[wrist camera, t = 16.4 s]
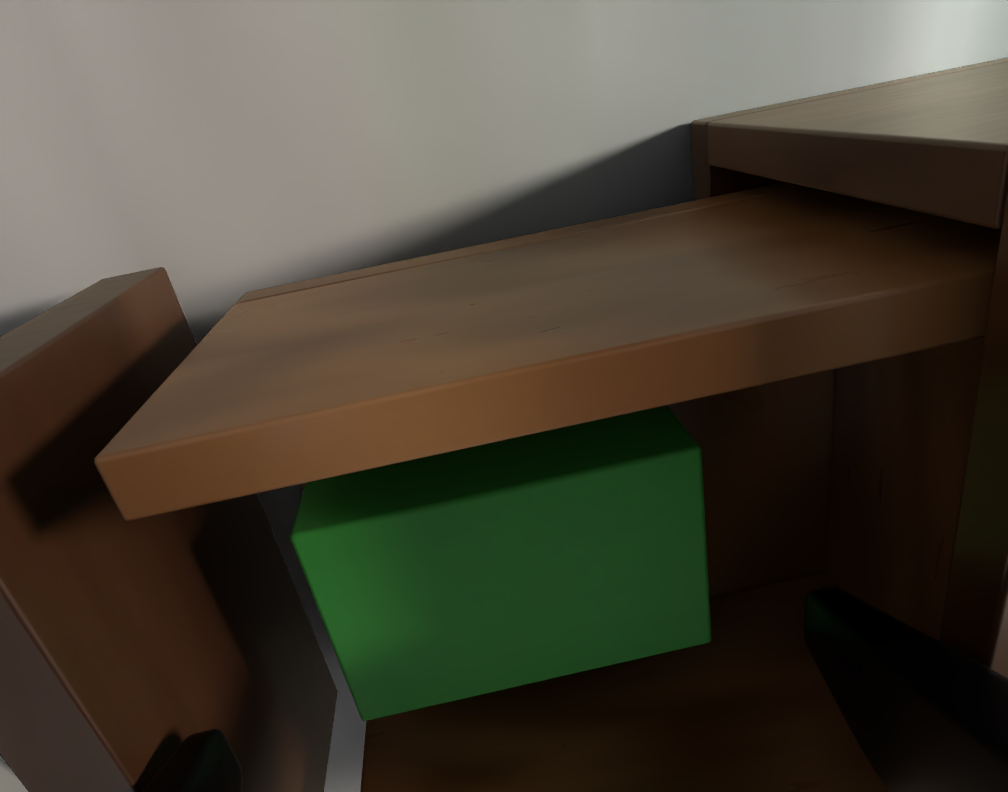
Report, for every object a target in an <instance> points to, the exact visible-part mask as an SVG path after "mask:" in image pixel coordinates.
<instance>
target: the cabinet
mask: <svg viewBox="0 0 1008 792" xmlns="http://www.w3.org/2000/svg"><path fill="white" fill-rule="evenodd" d="M691 130H692V151H693V171H694V192H695V200H700V199H705V198H710V197H715V196H720V195H725V194H729V193H734V192H739V191H744V190H749V189H754V188H759V187H764V186H769V185H773V184H778V183H783V182H788V183H792V184H797V185H801V186H806V187H810V188H814V189H819V190H823V191H828V192H832V193H837V194H841V195H846V196H850V197H855V198H859V199H864V200H868V201H873V202H877V203H882V204H886V205H891V206H895V207H900V208H904V209H909V210H913V211H918V212H922V213H927V214H931V215H936V216H940V217H945V218H949V219H954V220H958V221H963V222H967V223H972V224H976V225H981V226H985V227H990V228H994V229H1001V234H1000V241H999V247H998V254H997V261H996V267H995V274H994V280H993V287H992V294H991V300H990V307H989V313H988V320H987V327H986V333H985V340H984V346H983V353H982V360H981V366H980V373H979V380H978V386H977V393H976V399H975V406H974V413H973V419H972V426H971V432H970V439H969V446H968V452H967V459H966V465H965V472H964V479H963V485H962V492H961V499H960V505H959V512H958V518H957V525H956V532H955V538H954V545H953V551H952V558H951V565H950V571H949V578H948V584H947V591H946V598H945V604H944V611H943V618H942V624H941V631H940V637H939V641H940V642H941V643H943V644H945V645H947V646H949V647H951V648H953V649H955V650H957V651H958V652H960V653H962V654H964V655H966V656H968V657H970V658H972V659H973V660H975V661H977V662H979V663H981V664H983V665H985V666H987V667H988V668H990V669H992V670H994V671H996V672H998V673H1000V674H1002V675H1004V676H1005V677H1007V678H1008V58H1003V59H998V60H993V61H988V62H983V63H978V64H973V65H968V66H963V67H958V68H953V69H948V70H943V71H938V72H933V73H928V74H923V75H918V76H913V77H908V78H903V79H898V80H893V81H888V82H883V83H878V84H873V85H868V86H863V87H858V88H853V89H848V90H843V91H838V92H833V93H828V94H823V95H818V96H813V97H808V98H803V99H798V100H793V101H788V102H783V103H778V104H773V105H768V106H763V107H758V108H753V109H748V110H743V111H738V112H733V113H728V114H723V115H718V116H714V117H709V118H704V119H699V120H694V121H692V123H691Z"/></svg>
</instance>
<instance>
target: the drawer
mask: <svg viewBox="0 0 1008 792" xmlns="http://www.w3.org/2000/svg"><path fill="white" fill-rule="evenodd" d="M1000 234H1001V229H994V228H990V227H985V226H981V225H976V224H972V223H967V222H963V221H958V220H954V219H949V218H945V217H940V216H936V215H931V214H927V213H922V212H918V211H913V210H909V209H904V208H900V207H895V206H891V205H886V204H882V203H877V202H873V201H868V200H864V199H859V198H855V197H850V196H846V195H841V194H837V193H832V192H828V191H823V190H819V189H814V188H810V187H806V186H801V185H797V184H792V183H788V182H783V183H778V184H773V185H769V186H764V187H759V188H754V189H749V190H744V191H739V192H734V193H729V194H725V195H720V196H715V197H710V198H705V199H700V200H695V201H690V202H685V203H681V204H676V205H671V206H666V207H661V208H656V209H651V210H646V211H641V212H637V213H632V214H627V215H622V216H617V217H612V218H607V219H602V220H597V221H593V222H588V223H583V224H578V225H573V226H568V227H563V228H558V229H553V230H549V231H544V232H539V233H534V234H529V235H524V236H519V237H514V238H510V239H505V240H500V241H495V242H490V243H485V244H480V245H475V246H470V247H466V248H461V249H456V250H451V251H446V252H441V253H436V254H431V255H426V256H422V257H417V258H412V259H407V260H402V261H397V262H392V263H387V264H382V265H378V266H373V267H368V268H363V269H358V270H353V271H348V272H343V273H338V274H334V275H329V276H324V277H319V278H314V279H309V280H304V281H299V282H295V283H290V284H285V285H280V286H275V287H270V288H265V289H260V290H255V291H251V292H247V293H245V294H244V295H243V296H242V297H241V298H240V299H239V301H238V302H237V303H236V304H235V305H233V306H232V307H231V308H230V309H229V311H228V312H227V313H226V314H225V315H224V316H223V317H222V318H221V319H220V321H219V322H218V323H217V324H216V325H215V326H214V327H213V328H212V329H211V330H210V332H209V333H208V334H207V335H206V336H205V337H204V338H203V339H202V340H201V341H200V343H199V344H198V345H197V346H196V343H195V341H194V339H193V336H192V334H191V331H190V329H189V326H188V324H187V321H186V319H185V317H184V314H183V312H182V309H181V307H180V304H179V302H178V299H177V297H176V294H175V292H174V290H173V287H172V285H171V282H170V280H169V277H168V275H167V272H166V270H165V269H164V268H162V267H160V268H155V269H150V270H145V271H140V272H135V273H130V274H125V275H120V276H115V277H110V278H105V279H102V280H100V281H98V282H97V283H95V284H93V285H91V286H90V287H88V288H86V289H84V290H83V291H81V292H79V293H77V294H75V295H74V296H72V297H70V298H68V299H67V300H65V301H63V302H61V303H59V304H58V305H56V306H54V307H52V308H51V309H49V310H47V311H45V312H44V313H42V314H40V315H38V316H36V317H35V318H33V319H31V320H29V321H28V322H26V323H24V324H22V325H20V326H19V327H17V328H15V329H13V330H12V331H10V332H8V333H6V334H4V335H3V336H1V337H0V755H1V756H2V758H3V759H4V760H5V762H6V763H7V764H8V765H9V767H10V768H11V769H12V771H13V772H14V773H15V775H16V776H17V777H18V778H19V780H20V781H21V782H22V784H23V785H24V786H25V788H26V789H27V790H28V791H29V792H142V791H143V789H144V788H145V787H146V786H147V785H148V783H149V782H150V781H151V780H152V779H153V777H154V776H155V775H156V774H157V772H158V771H159V770H160V769H161V768H162V766H163V765H164V764H165V763H166V762H167V760H168V759H169V758H170V757H171V755H172V754H173V753H174V752H175V751H176V749H177V748H178V747H179V746H180V745H181V743H182V742H183V741H184V740H185V739H186V738H187V737H188V736H190V735H192V734H194V733H198V732H203V731H207V730H211V729H219V730H221V731H222V732H223V733H224V735H225V736H226V738H227V740H228V742H229V744H230V746H231V748H232V750H233V751H234V753H235V755H236V757H237V759H238V761H239V763H240V765H241V769H242V774H243V785H242V792H324V786H325V779H326V771H327V764H328V757H329V750H330V742H331V735H332V728H333V721H334V714H335V706H336V699H337V692H338V691H337V689H336V686H335V684H334V681H333V679H332V677H331V674H330V672H329V669H328V667H327V664H326V662H325V659H324V657H323V655H322V652H321V650H320V647H319V645H318V642H317V640H316V637H315V635H314V633H313V630H312V628H311V625H310V623H309V620H308V618H307V615H306V613H305V610H304V608H303V606H302V603H301V601H300V598H299V596H298V593H297V591H296V588H295V586H294V584H293V581H292V579H291V576H290V574H289V571H288V569H287V566H286V564H285V561H284V559H283V557H282V554H281V552H280V549H279V547H278V544H277V542H276V539H275V537H274V535H273V532H272V530H271V527H270V525H269V522H268V520H267V517H266V515H265V512H264V510H263V508H262V505H261V503H260V500H259V498H258V495H257V493H261V492H265V491H270V490H275V489H279V488H284V487H288V486H293V485H298V484H301V486H302V488H303V490H304V487H305V484H306V483H307V482H312V481H316V480H321V479H326V478H330V477H335V476H340V475H344V474H349V473H354V472H358V471H363V470H368V469H372V468H377V467H382V466H386V465H391V464H395V463H400V462H405V461H409V460H414V459H419V458H423V457H428V456H433V455H437V454H442V453H447V452H451V451H456V450H461V449H465V448H470V447H475V446H479V445H484V444H489V443H493V442H498V441H502V440H507V439H512V438H516V437H521V436H526V435H530V434H535V433H540V432H544V431H549V430H554V429H558V428H563V427H568V426H572V425H577V424H582V423H586V422H591V421H596V420H600V419H605V418H609V417H614V416H619V415H623V414H628V413H633V412H637V411H642V410H647V409H651V408H656V407H661V406H665V405H667V406H668V407H669V409H670V410H671V411H672V412H673V414H674V415H675V416H676V417H677V419H678V420H679V421H680V422H681V423H682V425H683V426H684V427H685V428H686V430H687V431H688V432H689V433H690V435H691V436H692V437H693V438H694V439H695V441H696V442H697V443H698V444H699V446H700V447H701V451H702V470H703V489H704V508H705V526H706V545H707V564H708V583H709V601H710V620H711V641H710V642H709V643H706V644H702V645H697V646H693V647H688V648H684V649H680V650H675V651H671V652H666V653H662V654H658V655H653V656H649V657H644V658H640V659H636V660H631V661H627V662H623V663H618V664H614V665H609V666H605V667H601V668H596V669H592V670H587V671H583V672H579V673H574V674H570V675H565V676H561V677H557V678H552V679H548V680H544V681H539V682H535V683H530V684H526V685H522V686H517V687H513V688H508V689H504V690H500V691H495V692H491V693H486V694H482V695H478V696H473V697H469V698H465V699H460V700H456V701H451V702H447V703H443V704H438V705H434V706H429V707H425V708H421V709H416V710H412V711H407V712H403V713H399V714H394V715H390V716H385V717H381V718H377V719H372V720H368V721H366V733H365V744H364V756H363V768H362V780H361V791H360V792H889V791H888V790H887V788H886V787H885V785H884V784H883V782H882V781H881V779H880V778H879V776H878V775H877V773H876V772H875V770H874V769H873V767H872V765H871V764H870V762H869V761H868V759H867V757H866V756H865V754H864V753H863V751H862V749H861V748H860V746H859V744H858V742H857V740H856V739H855V737H854V735H853V733H852V731H851V729H850V727H849V726H848V724H847V722H846V720H845V718H844V716H843V714H842V712H841V710H840V708H839V707H838V705H837V703H836V701H835V699H834V697H833V695H832V693H831V691H830V689H829V688H828V686H827V684H826V682H825V680H824V678H823V676H822V674H821V672H820V670H819V669H818V667H817V665H816V663H815V661H814V659H813V657H812V655H811V653H810V652H809V649H808V647H807V645H806V642H805V638H804V600H805V596H806V594H807V593H808V592H809V591H812V590H816V589H821V588H825V587H830V586H834V587H837V588H840V589H842V590H844V591H846V592H847V593H849V594H851V595H853V596H855V597H857V598H859V599H861V600H863V601H864V602H866V603H868V604H870V605H872V606H874V607H876V608H878V609H879V610H881V611H883V612H885V613H887V614H889V615H891V616H893V617H894V618H896V619H898V620H900V621H902V622H904V623H906V624H908V625H910V626H911V627H913V628H915V629H917V630H919V631H921V632H923V633H925V634H926V635H928V636H930V637H932V638H934V639H936V640H938V641H939V637H940V631H941V624H942V618H943V611H944V604H945V598H946V591H947V584H948V578H949V571H950V565H951V558H952V551H953V545H954V538H955V532H956V525H957V518H958V512H959V505H960V499H961V492H962V485H963V479H964V472H965V465H966V459H967V452H968V446H969V439H970V432H971V426H972V419H973V413H974V406H975V399H976V393H977V386H978V380H979V373H980V366H981V360H982V353H983V346H984V340H985V333H986V327H987V320H988V313H989V307H990V300H991V294H992V287H993V280H994V274H995V267H996V261H997V254H998V247H999V241H1000Z"/></svg>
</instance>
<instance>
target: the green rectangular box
mask: <svg viewBox="0 0 1008 792" xmlns="http://www.w3.org/2000/svg"><path fill="white" fill-rule="evenodd" d="M290 540H291V542H292V545H293V547H294V550H295V552H296V555H297V558H298V560H299V563H300V565H301V568H302V570H303V573H304V575H305V578H306V580H307V583H308V585H309V588H310V590H311V593H312V595H313V598H314V600H315V603H316V605H317V608H318V611H319V613H320V616H321V618H322V621H323V623H324V626H325V628H326V631H327V633H328V636H329V638H330V641H331V643H332V646H333V648H334V651H335V653H336V656H337V659H338V661H339V664H340V666H341V669H342V671H343V674H344V676H345V679H346V681H347V684H348V686H349V689H350V691H351V694H352V696H353V699H354V701H355V704H356V706H357V709H358V712H359V714H360V717H361V719H362V720H363V721H368V720H372V719H377V718H381V717H385V716H390V715H394V714H399V713H403V712H407V711H412V710H416V709H421V708H425V707H429V706H434V705H438V704H443V703H447V702H451V701H456V700H460V699H465V698H469V697H473V696H478V695H482V694H486V693H491V692H495V691H500V690H504V689H508V688H513V687H517V686H522V685H526V684H530V683H535V682H539V681H544V680H548V679H552V678H557V677H561V676H565V675H570V674H574V673H579V672H583V671H587V670H592V669H596V668H601V667H605V666H609V665H614V664H618V663H623V662H627V661H631V660H636V659H640V658H644V657H649V656H653V655H658V654H662V653H666V652H671V651H675V650H680V649H684V648H688V647H693V646H697V645H702V644H706V643H709V642H710V641H711V620H710V601H709V583H708V564H707V545H706V526H705V508H704V489H703V470H702V451H701V447H700V446H699V444H698V443H697V442H696V441H695V439H694V438H693V437H692V436H691V435H690V433H689V432H688V431H687V430H686V428H685V427H684V426H683V425H682V423H681V422H680V421H679V420H678V419H677V417H676V416H675V415H674V414H673V412H672V411H671V410H670V409H669V407H668V406H667V405H665V406H661V407H656V408H651V409H647V410H642V411H637V412H633V413H628V414H623V415H619V416H614V417H609V418H605V419H600V420H596V421H591V422H586V423H582V424H577V425H572V426H568V427H563V428H558V429H554V430H549V431H544V432H540V433H535V434H530V435H526V436H521V437H516V438H512V439H507V440H502V441H498V442H493V443H489V444H484V445H479V446H475V447H470V448H465V449H461V450H456V451H451V452H447V453H442V454H437V455H433V456H428V457H423V458H419V459H414V460H409V461H405V462H400V463H395V464H391V465H386V466H382V467H377V468H372V469H368V470H363V471H358V472H354V473H349V474H344V475H340V476H335V477H330V478H326V479H321V480H316V481H312V482H307V483H306V484H305V487H304V490H303V494H302V497H301V500H300V504H299V507H298V510H297V514H296V517H295V521H294V524H293V527H292V531H291V534H290Z"/></svg>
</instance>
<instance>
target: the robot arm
mask: <svg viewBox="0 0 1008 792" xmlns="http://www.w3.org/2000/svg"><path fill="white" fill-rule="evenodd" d="M804 638H805V642H806V645H807V647H808V649H809V652H810V653H811V655H812V657H813V659H814V661H815V663H816V665H817V667H818V669H819V670H820V672H821V674H822V676H823V678H824V680H825V682H826V684H827V686H828V688H829V689H830V691H831V693H832V695H833V697H834V699H835V701H836V703H837V705H838V707H839V708H840V710H841V712H842V714H843V716H844V718H845V720H846V722H847V724H848V726H849V727H850V729H851V731H852V733H853V735H854V737H855V739H856V740H857V742H858V744H859V746H860V748H861V749H862V751H863V753H864V754H865V756H866V757H867V759H868V761H869V762H870V764H871V765H872V767H873V769H874V770H875V772H876V773H877V775H878V776H879V778H880V779H881V781H882V782H883V784H884V785H885V787H886V788H887V790H888V791H889V792H1008V678H1007V677H1005V676H1004V675H1002V674H1000V673H998V672H996V671H994V670H992V669H990V668H988V667H987V666H985V665H983V664H981V663H979V662H977V661H975V660H973V659H972V658H970V657H968V656H966V655H964V654H962V653H960V652H958V651H957V650H955V649H953V648H951V647H949V646H947V645H945V644H943V643H941V642H940V641H938V640H936V639H934V638H932V637H930V636H928V635H926V634H925V633H923V632H921V631H919V630H917V629H915V628H913V627H911V626H910V625H908V624H906V623H904V622H902V621H900V620H898V619H896V618H894V617H893V616H891V615H889V614H887V613H885V612H883V611H881V610H879V609H878V608H876V607H874V606H872V605H870V604H868V603H866V602H864V601H863V600H861V599H859V598H857V597H855V596H853V595H851V594H849V593H847V592H846V591H844V590H842V589H840V588H837V587H834V586H830V587H825V588H821V589H816V590H812V591H809V592H808V593H807V594H806V596H805V600H804ZM242 785H243V774H242V769H241V765H240V763H239V761H238V759H237V757H236V755H235V753H234V751H233V750H232V748H231V746H230V744H229V742H228V740H227V738H226V736H225V735H224V733H223V732H222V731H221V730H219V729H211V730H207V731H203V732H198V733H194V734H192V735H190V736H188V737H187V738H186V739H185V740H184V741H183V742H182V743H181V745H180V746H179V747H178V748H177V749H176V751H175V752H174V753H173V754H172V755H171V757H170V758H169V759H168V760H167V762H166V763H165V764H164V765H163V766H162V768H161V769H160V770H159V771H158V772H157V774H156V775H155V776H154V777H153V779H152V780H151V781H150V782H149V783H148V785H147V786H146V787H145V788H144V789H143V791H142V792H242Z"/></svg>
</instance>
